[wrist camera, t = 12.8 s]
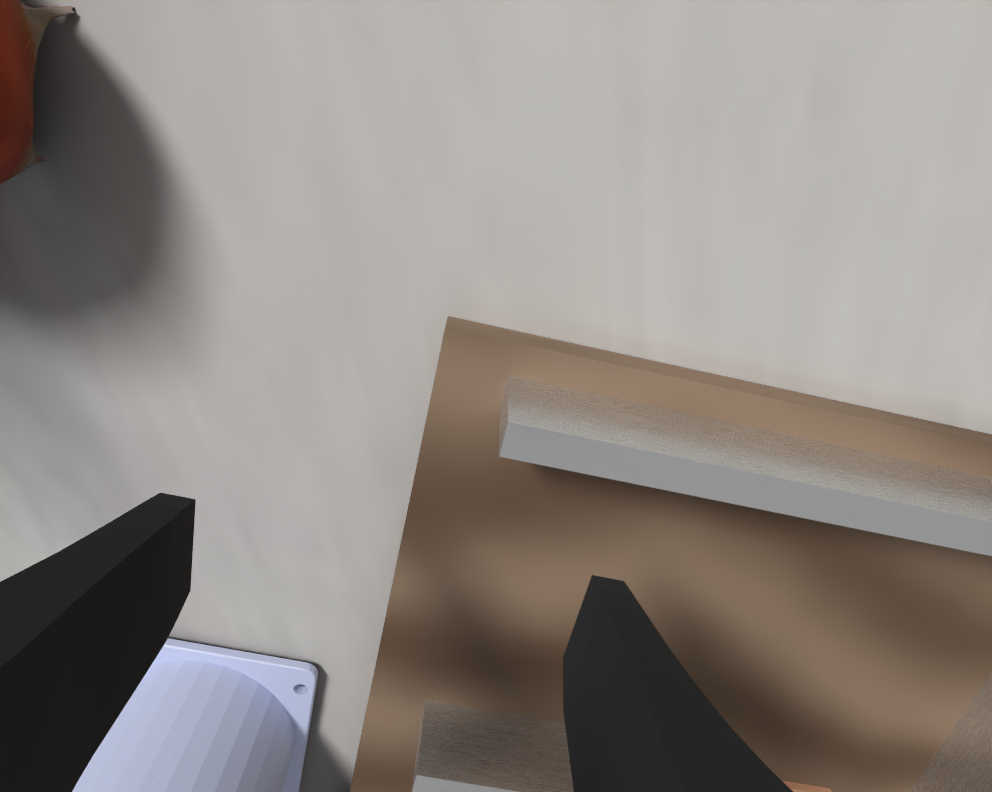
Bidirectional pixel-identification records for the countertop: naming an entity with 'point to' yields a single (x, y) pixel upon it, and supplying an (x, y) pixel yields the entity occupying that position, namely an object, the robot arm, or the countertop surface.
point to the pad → (805, 787)
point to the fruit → (19, 81)
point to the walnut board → (675, 578)
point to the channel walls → (722, 477)
